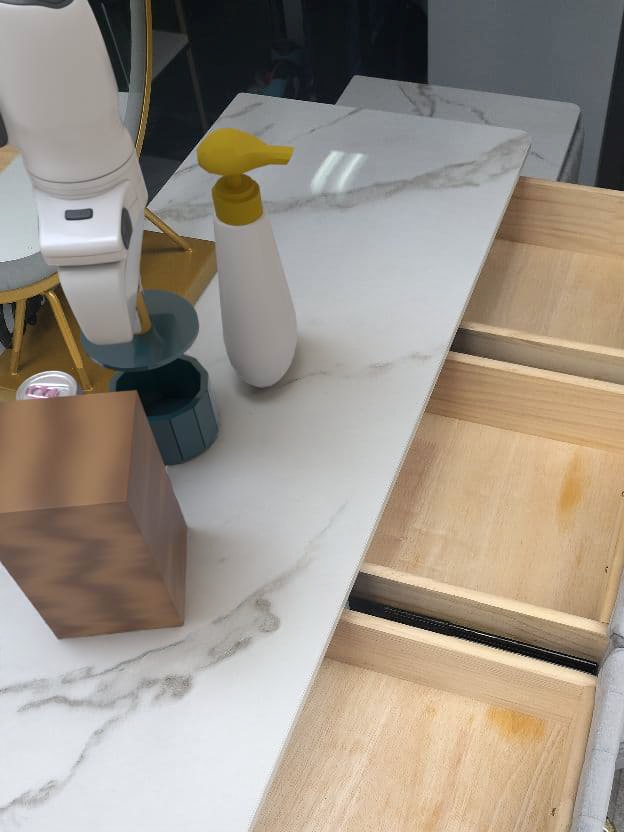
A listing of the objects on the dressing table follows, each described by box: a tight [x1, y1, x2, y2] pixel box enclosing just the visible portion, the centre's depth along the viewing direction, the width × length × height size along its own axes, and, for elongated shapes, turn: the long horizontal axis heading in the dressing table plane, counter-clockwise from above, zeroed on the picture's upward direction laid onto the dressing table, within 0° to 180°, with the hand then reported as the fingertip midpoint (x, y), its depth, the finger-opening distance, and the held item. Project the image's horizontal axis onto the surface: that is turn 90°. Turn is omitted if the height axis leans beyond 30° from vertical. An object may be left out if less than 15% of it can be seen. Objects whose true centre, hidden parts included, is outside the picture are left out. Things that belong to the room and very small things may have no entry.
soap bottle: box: [195, 127, 298, 389], centre depth 88 cm, size 13×10×29 cm
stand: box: [0, 390, 188, 640], centre depth 74 cm, size 12×12×20 cm
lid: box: [79, 285, 200, 372], centre depth 80 cm, size 12×12×5 cm
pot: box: [107, 353, 221, 466], centre depth 91 cm, size 11×11×7 cm
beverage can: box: [15, 370, 85, 400], centre depth 82 cm, size 6×6×15 cm
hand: (134, 315), depth 80 cm, fingers closed on lid, 2 cm apart
